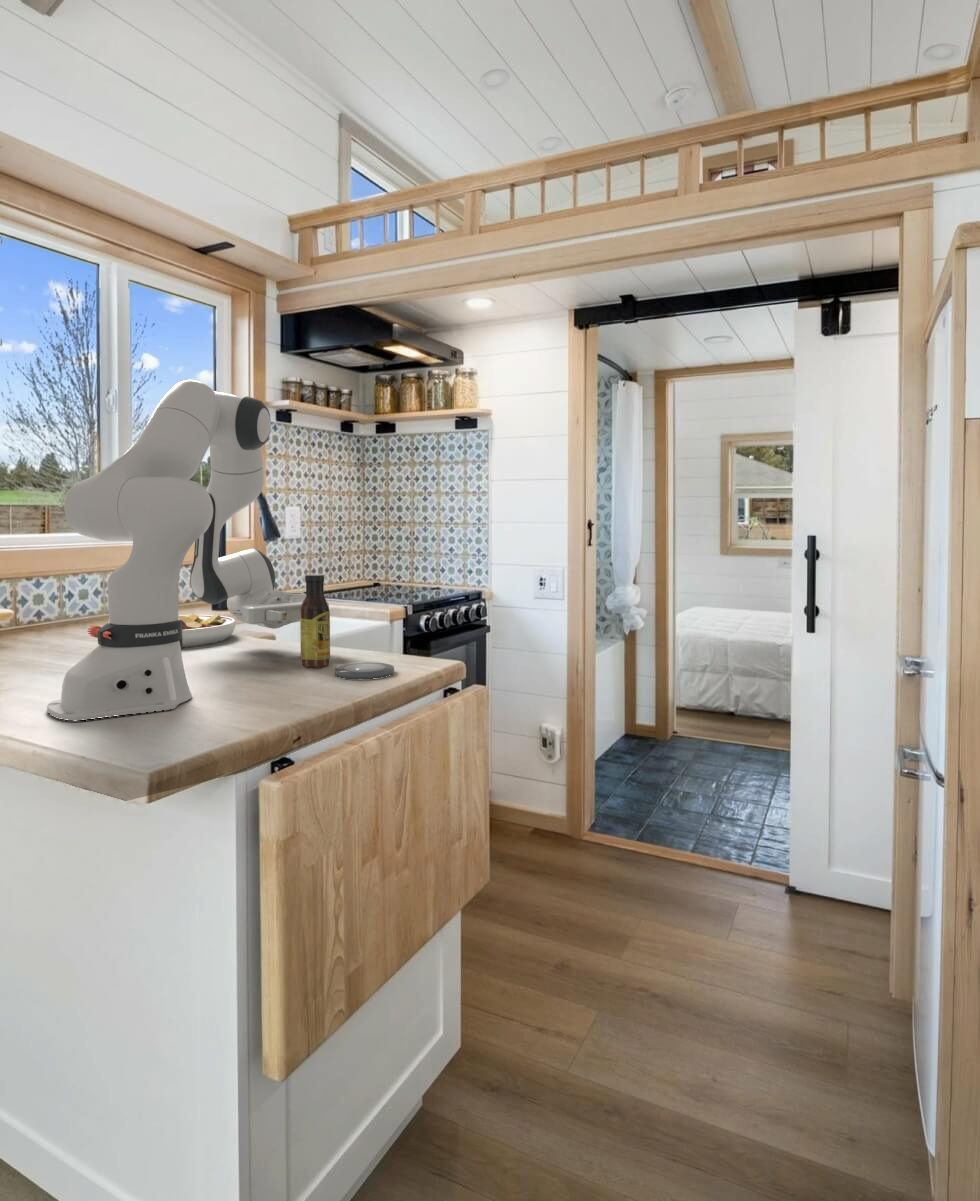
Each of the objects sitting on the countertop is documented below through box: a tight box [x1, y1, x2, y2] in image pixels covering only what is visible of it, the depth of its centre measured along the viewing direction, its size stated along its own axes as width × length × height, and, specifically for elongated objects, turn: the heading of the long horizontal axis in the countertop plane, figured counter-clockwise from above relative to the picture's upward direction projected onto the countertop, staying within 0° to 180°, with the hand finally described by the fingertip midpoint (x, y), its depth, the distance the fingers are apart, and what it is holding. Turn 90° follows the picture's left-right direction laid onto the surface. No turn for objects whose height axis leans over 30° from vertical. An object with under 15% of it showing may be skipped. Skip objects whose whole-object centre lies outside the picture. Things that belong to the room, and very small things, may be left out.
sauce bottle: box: [299, 574, 331, 669], centre depth 165 cm, size 7×6×20 cm
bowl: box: [178, 613, 236, 648], centre depth 199 cm, size 30×30×8 cm
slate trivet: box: [334, 661, 395, 680], centre depth 158 cm, size 12×12×1 cm
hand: (303, 614), depth 168 cm, fingers open, 8 cm apart
